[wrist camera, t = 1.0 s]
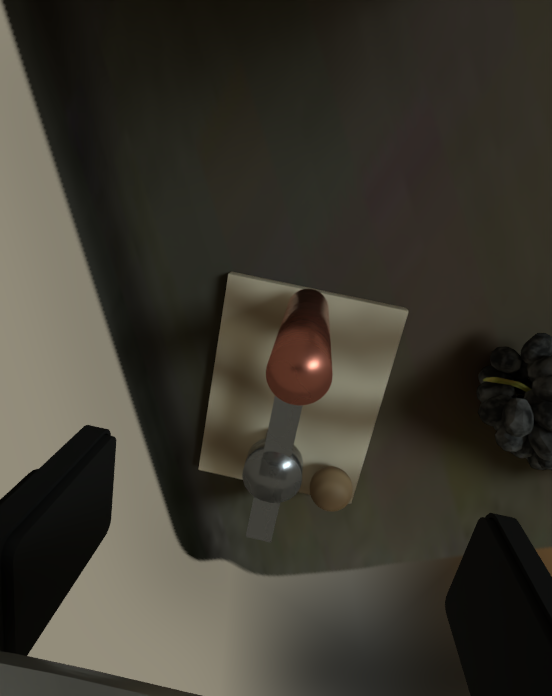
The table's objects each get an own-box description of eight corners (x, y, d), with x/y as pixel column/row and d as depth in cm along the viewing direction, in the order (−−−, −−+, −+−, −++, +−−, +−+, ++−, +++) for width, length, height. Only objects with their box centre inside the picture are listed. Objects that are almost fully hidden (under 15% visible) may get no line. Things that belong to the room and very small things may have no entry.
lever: (282, 281, 32) (256, 333, 19) (342, 293, 32) (355, 354, 19) (240, 496, 38) (200, 643, 25) (290, 507, 38) (273, 660, 25)
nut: (314, 453, 38) (314, 478, 34) (355, 462, 37) (359, 488, 34) (306, 488, 39) (304, 515, 35) (345, 496, 39) (348, 525, 35)
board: (231, 271, 35) (218, 281, 30) (405, 307, 34) (417, 322, 30) (202, 462, 40) (187, 493, 36) (350, 495, 40) (353, 531, 36)
